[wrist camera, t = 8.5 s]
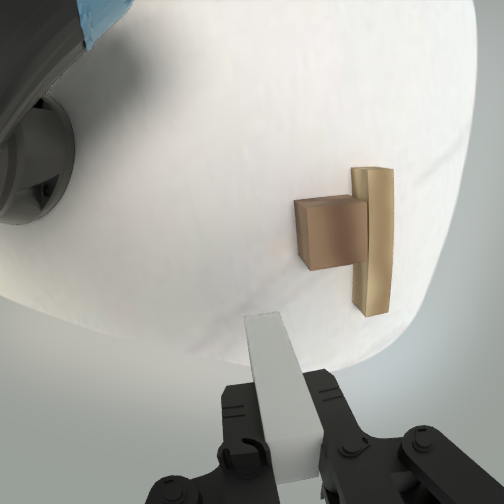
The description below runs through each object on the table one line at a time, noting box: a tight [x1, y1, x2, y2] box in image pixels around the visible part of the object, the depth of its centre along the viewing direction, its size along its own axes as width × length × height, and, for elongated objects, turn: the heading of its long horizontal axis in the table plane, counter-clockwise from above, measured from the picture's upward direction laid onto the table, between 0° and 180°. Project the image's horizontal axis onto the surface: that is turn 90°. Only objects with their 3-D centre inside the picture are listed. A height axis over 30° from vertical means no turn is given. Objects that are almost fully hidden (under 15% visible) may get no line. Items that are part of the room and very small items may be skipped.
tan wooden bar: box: [351, 167, 394, 317], centre depth 32 cm, size 3×16×4 cm, turn 6°
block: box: [294, 195, 368, 271], centre depth 30 cm, size 6×6×5 cm
